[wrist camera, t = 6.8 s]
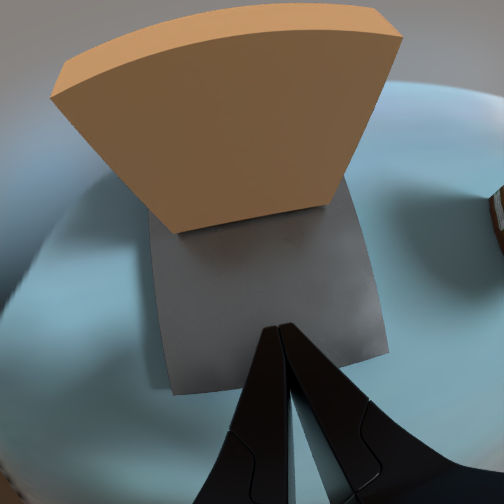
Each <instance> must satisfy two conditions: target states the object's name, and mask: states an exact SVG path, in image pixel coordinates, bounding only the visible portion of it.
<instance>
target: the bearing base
mask: <svg viewBox="0 0 504 504" xmlns="http://www.w3.org/2000/svg"><path fill="white" fill-rule="evenodd" d="M148 219H149V235H150V248H151V260H152V270H153V279H154V288H155V296H156V304H157V311H158V318H159V325H160V331H161V337H162V343H163V349H164V355H165V360H166V365H167V370H168V375H169V380H170V385H171V389H172V394H173V395H187V394H198V393H208V392H217V391H225V390H233V389H240V388H243V387H244V384H245V381H246V378H247V375H248V372H249V369H250V366H251V363H252V360H253V357H254V354H255V351H256V348H257V344H258V341H259V338H260V335H261V332H262V329H263V328H265V327H269V326H274V325H276V326H279V325H280V324H284V323H289V322H292V323H294V324H295V325H296V326H297V327H298V328H299V329H300V330H301V331H302V332H303V333H304V334H305V335H306V336H307V337H308V338H309V339H310V340H311V341H312V342H313V343H314V344H315V345H316V346H317V347H318V348H319V349H320V350H321V351H322V352H323V353H324V354H325V355H326V356H327V357H328V358H329V359H330V360H331V361H332V362H333V363H334V364H335V365H336V366H337V367H338V368H340V367H344V366H348V365H351V364H354V363H358V362H361V361H364V360H368V359H371V358H374V357H377V356H380V355H383V354H386V353H389V350H388V344H387V338H386V332H385V327H384V321H383V316H382V311H381V306H380V302H379V297H378V293H377V288H376V284H375V280H374V275H373V271H372V267H371V263H370V260H369V256H368V252H367V248H366V245H365V241H364V238H363V234H362V231H361V227H360V224H359V221H358V217H357V214H356V211H355V208H354V205H353V202H352V199H351V196H350V193H349V190H348V187H347V184H346V181H345V178H344V175H343V177H342V179H341V181H340V184H339V186H338V188H337V190H336V192H335V194H334V196H333V198H332V200H331V202H330V204H327V205H321V206H315V207H309V208H304V209H298V210H292V211H287V212H281V213H276V214H270V215H265V216H259V217H254V218H249V219H244V220H239V221H233V222H228V223H223V224H218V225H213V226H208V227H204V228H199V229H194V230H189V231H185V232H180V233H175V234H173V233H172V232H171V231H170V230H169V229H168V228H167V227H166V226H165V225H164V224H163V223H162V222H161V221H160V220H159V219H158V218H157V217H156V216H155V215H154V214H153V213H152V212H151V211H150V209H149V208H148Z"/></svg>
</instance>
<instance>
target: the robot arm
mask: <svg viewBox="0 0 504 504" xmlns="http://www.w3.org/2000/svg"><path fill="white" fill-rule="evenodd" d="M290 392H291V395H290ZM291 396H292V399H293V402H294V405H295V408H296V411H297V414H298V416H299V419H300V422H301V425H302V428H303V430H304V433H305V436H306V439H307V441H308V444H309V447H310V450H311V453H312V455H313V458H314V461H315V464H316V466H317V469H318V472H319V474H320V477H321V480H322V483H323V485H324V488H325V491H326V493H327V496H328V499H329V502H330V504H504V473H503V472H496V471H489V470H483V469H477V468H472V467H467V466H463V465H460V464H457V463H455V462H453V461H451V460H449V459H447V458H445V457H444V456H442V455H441V454H439V453H438V452H436V451H435V450H433V449H432V448H430V447H429V446H427V445H426V444H424V443H423V442H421V441H420V440H419V439H417V438H416V437H414V436H413V435H411V434H410V433H409V432H407V431H406V430H405V429H403V428H402V427H401V426H399V425H398V424H397V423H395V422H394V421H393V420H392V419H391V418H390V417H389V416H387V415H386V414H385V413H384V412H383V411H382V410H381V409H380V408H379V407H378V406H377V405H376V404H375V403H373V402H372V401H371V400H370V401H369V398H368V397H367V396H366V395H365V394H364V393H363V392H362V391H361V390H360V389H359V388H358V387H357V386H356V385H355V384H354V383H353V382H352V381H351V380H350V379H349V378H348V377H347V376H346V375H345V374H344V373H343V372H342V371H341V370H340V369H339V368H338V367H337V366H336V365H335V364H334V363H333V362H332V361H331V360H330V359H329V358H328V357H327V356H326V355H325V354H324V353H323V352H322V351H321V350H320V349H319V348H318V347H317V346H316V345H315V344H314V343H313V342H312V341H311V340H310V339H309V338H308V337H307V336H306V335H305V334H304V333H303V332H302V331H301V330H300V329H299V328H298V327H297V326H296V325H295V324H294V323H292V322H289V323H284V324H280V325H279V326H276V325H274V326H269V327H265V328H263V329H262V332H261V335H260V338H259V341H258V344H257V348H256V351H255V354H254V357H253V360H252V363H251V366H250V369H249V372H248V375H247V378H246V381H245V384H244V387H243V390H242V392H241V395H240V398H239V401H238V404H237V407H236V410H235V413H234V416H233V418H232V421H231V424H230V427H229V430H230V431H228V432H227V435H226V437H225V440H224V443H223V445H222V448H221V450H220V453H219V455H218V458H217V460H216V462H215V464H214V466H213V468H212V470H211V472H210V474H209V476H208V478H207V480H206V481H205V483H204V485H203V487H202V488H201V490H200V492H199V493H198V495H197V497H196V498H195V500H194V502H193V503H192V504H296V497H295V467H294V444H293V424H292V406H291Z"/></svg>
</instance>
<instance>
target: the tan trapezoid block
mask: <svg viewBox="0 0 504 504" xmlns="http://www.w3.org/2000/svg"><path fill="white" fill-rule="evenodd" d="M402 39H403V36H402V35H401V34H400V33H399V32H398V31H397V30H396V29H395V28H394V27H393V26H392V25H391V24H390V23H389V22H388V21H387V20H386V19H385V18H384V17H383V16H382V15H381V14H379V13H378V12H377V11H376V10H375V9H374V8H367V7H360V6H351V5H340V4H323V3H281V4H264V5H252V6H242V7H234V8H227V9H221V10H215V11H209V12H204V13H199V14H194V15H190V16H186V17H181V18H177V19H174V20H170V21H166V22H163V23H159V24H156V25H152V26H150V27H146V28H143V29H140V30H137V31H134V32H131V33H129V34H126V35H123V36H121V37H118V38H115V39H113V40H111V41H108V42H106V43H103V44H101V45H99V46H96V47H94V48H92V49H90V50H88V51H86V52H84V53H81V54H79V55H77V56H75V57H73V58H72V59H70V60H68V61H66V62H65V64H64V66H63V68H62V70H61V72H60V75H59V77H58V79H57V81H56V84H55V86H54V89H53V91H52V94H51V97H50V99H51V100H52V102H53V103H54V104H55V105H56V106H57V108H58V109H59V110H60V111H61V112H62V113H63V115H64V116H65V117H66V118H67V119H68V121H69V122H71V124H72V125H73V126H74V127H75V129H76V130H77V131H78V132H79V133H80V134H81V135H82V137H83V138H84V139H85V140H86V141H87V142H88V143H89V144H90V146H91V147H92V148H93V149H94V150H95V151H96V152H97V154H98V155H99V156H100V157H101V158H102V159H103V160H104V161H105V162H106V164H107V165H109V167H110V168H111V169H112V170H113V171H114V172H115V173H116V174H117V176H118V177H119V178H120V179H121V180H122V181H123V182H124V183H125V184H126V185H127V186H128V187H129V188H130V190H131V191H132V192H133V193H134V194H135V195H136V196H137V197H138V198H139V199H140V200H141V201H142V202H143V203H144V204H145V205H146V206H147V207H148V208H149V209H150V211H151V212H152V213H153V214H154V215H155V216H156V217H157V218H158V219H159V220H160V221H161V222H162V223H163V224H164V225H165V226H166V227H167V228H168V229H169V230H170V231H171V232H172V233H173V234H175V233H180V232H185V231H189V230H194V229H199V228H204V227H208V226H213V225H218V224H223V223H228V222H233V221H239V220H244V219H249V218H254V217H259V216H265V215H270V214H276V213H281V212H287V211H292V210H298V209H304V208H309V207H315V206H321V205H327V204H330V202H331V200H332V198H333V196H334V194H335V192H336V190H337V188H338V186H339V184H340V181H341V179H342V177H343V175H344V173H345V171H346V169H347V167H348V165H349V163H350V161H351V158H352V156H353V154H354V152H355V150H356V148H357V146H358V143H359V141H360V139H361V137H362V135H363V132H364V130H365V128H366V126H367V123H368V121H369V119H370V117H371V114H372V112H373V110H374V108H375V105H376V103H377V101H378V98H379V96H380V94H381V91H382V89H383V87H384V84H385V82H386V79H387V77H388V74H389V72H390V69H391V67H392V65H393V62H394V60H395V57H396V54H397V52H398V49H399V47H400V44H401V42H402Z"/></svg>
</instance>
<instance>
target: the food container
mask: <svg viewBox="0 0 504 504" xmlns="http://www.w3.org/2000/svg"><path fill="white" fill-rule="evenodd" d="M489 207H490V214H491V219H492V224H493V229H494V232H495V235H496V238H497V240H498V243H499V246H500V249H501V251H502V253H503V255H504V185H503V186H502V187H501V188H500V189H499V190H498V191H497V192H496V193H494V194H493V195H492V196H491V197H490V198H489Z"/></svg>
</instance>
